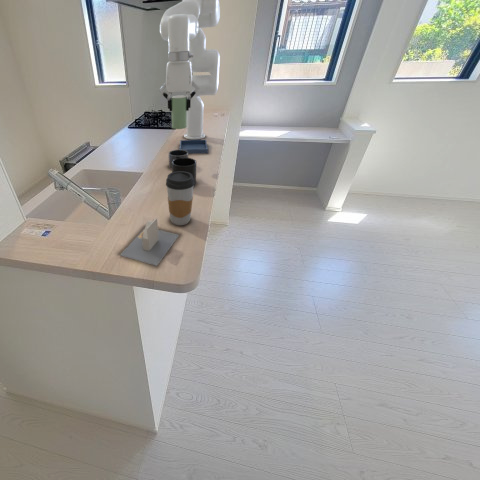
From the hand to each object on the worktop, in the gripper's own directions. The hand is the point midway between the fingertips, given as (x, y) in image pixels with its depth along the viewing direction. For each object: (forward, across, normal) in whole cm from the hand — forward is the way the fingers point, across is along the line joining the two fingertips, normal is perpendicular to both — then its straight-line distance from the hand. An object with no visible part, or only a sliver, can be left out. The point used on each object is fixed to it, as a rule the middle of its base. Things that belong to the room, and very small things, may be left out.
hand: (179, 109), depth 109 cm
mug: (+24, -3, +18) cm, 30 cm away
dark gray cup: (+24, 0, +2) cm, 24 cm away
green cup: (+7, 0, 0) cm, 7 cm away
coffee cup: (+23, -2, +48) cm, 53 cm away
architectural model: (+23, +6, +60) cm, 65 cm away
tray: (+24, -7, -24) cm, 34 cm away
